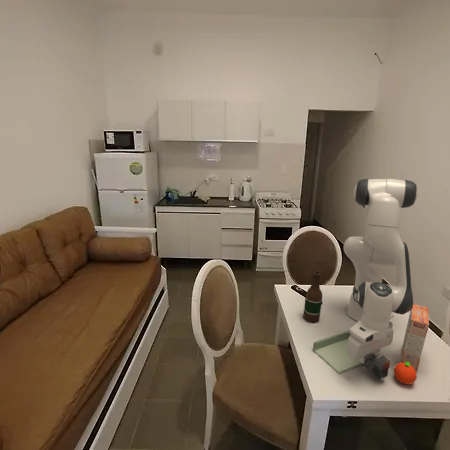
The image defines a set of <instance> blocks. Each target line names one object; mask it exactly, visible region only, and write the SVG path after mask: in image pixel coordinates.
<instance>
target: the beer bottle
mask: <svg viewBox="0 0 450 450" xmlns="http://www.w3.org/2000/svg"><path fill="white" fill-rule="evenodd" d="M321 276H322V273H321V272H320V271H318V270H315V271H313V272H312V279H311V285H310V286H309V288H308V289H307V291H306V294H305V297H304V307H303V320H305V322H308V323H312V324H316V323H319V321H320V317H321V310H322V304H323V303H322V302H323V291H322V290H321V288H320V287H321V286H320V284H321V283H320V281H321Z"/></svg>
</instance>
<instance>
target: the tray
mask: <svg viewBox="0 0 450 450" xmlns="http://www.w3.org/2000/svg"><path fill="white" fill-rule="evenodd" d="M349 330H350V329H348V330H345V331H342V332H340V333H337V334H333V335H331V336H327V337H325V338H322V339H319V340H315V341H313V344H312V345H313V347H312V352H314V353H315V354H316V355H317V356H318V357H320V359H321V360H323V362H325V363H326V364H327V365H328V366H329V367H331V369H333V370H334V371H335V372H336V373H337V374H338V375H340V374H342V373H344V372H347V371H349V370H352V369H355V368H356V367H359V366H362V365H361V362H360V361H359V358H358V359H353V358H352V357H350V356H349V355H348V354H347V352H346V349H347V343H348V339H349V336H350V335H351V334H350V333H349ZM376 357H377V358H378V355H377V356H376Z"/></svg>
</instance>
